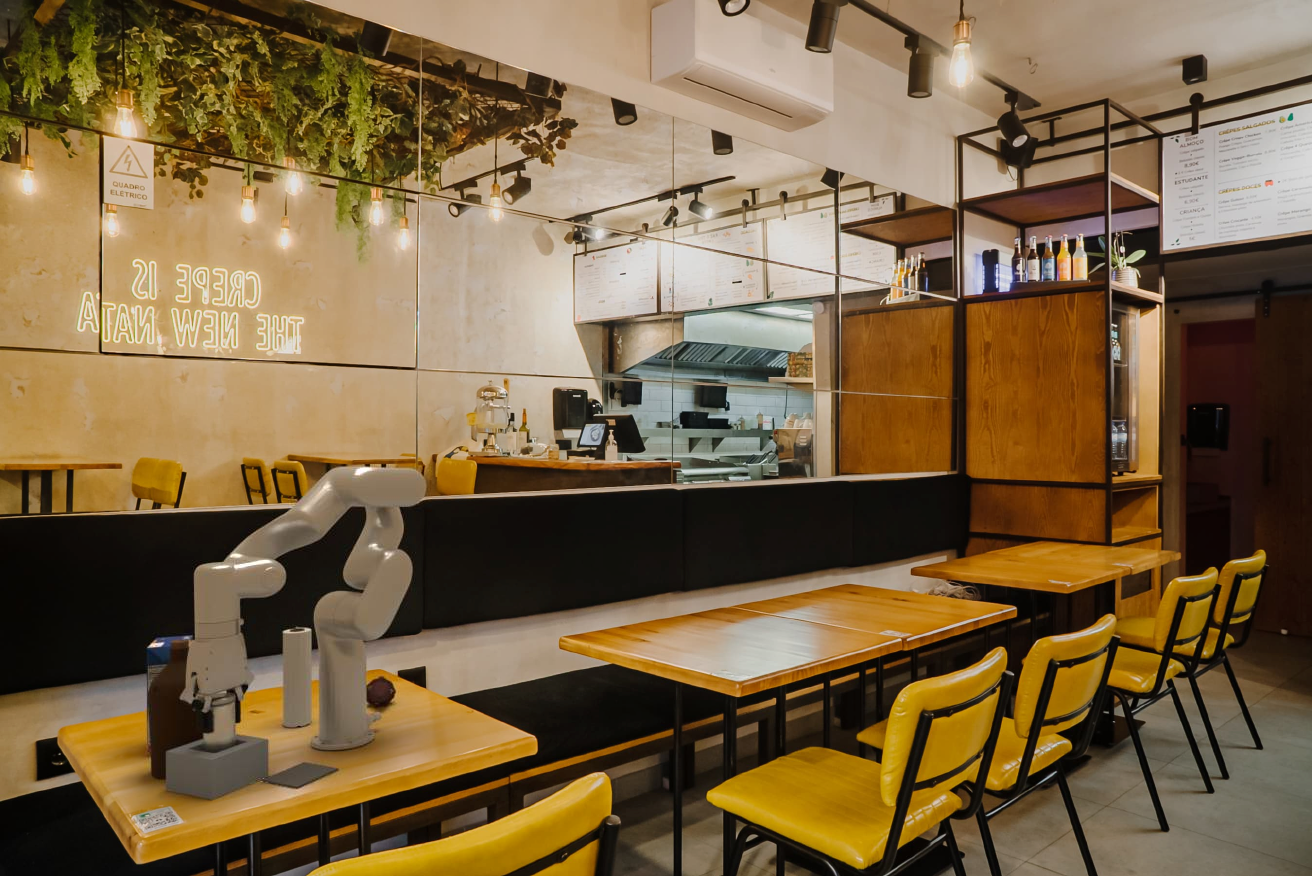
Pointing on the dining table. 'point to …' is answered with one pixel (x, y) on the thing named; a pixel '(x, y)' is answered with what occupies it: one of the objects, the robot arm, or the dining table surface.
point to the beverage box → (158, 666)
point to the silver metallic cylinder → (221, 724)
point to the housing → (216, 767)
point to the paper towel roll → (297, 677)
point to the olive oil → (170, 709)
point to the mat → (300, 775)
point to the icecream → (380, 692)
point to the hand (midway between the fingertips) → (219, 726)
